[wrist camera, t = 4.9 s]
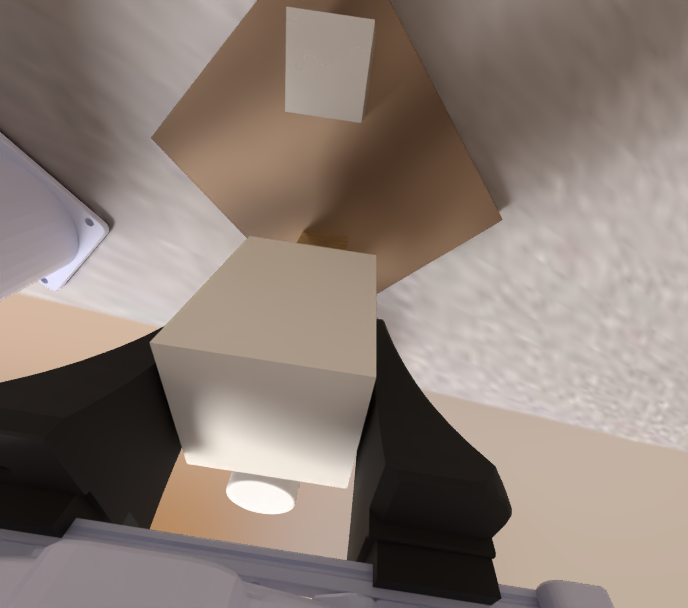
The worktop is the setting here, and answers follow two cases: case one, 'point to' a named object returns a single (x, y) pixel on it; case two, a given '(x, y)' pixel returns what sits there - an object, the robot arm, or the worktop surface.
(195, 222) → the worktop surface
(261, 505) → the supplement bottle
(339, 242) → the post
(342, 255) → the cream rectangular block
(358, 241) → the board
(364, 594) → the robot arm
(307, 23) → the post
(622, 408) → the worktop surface
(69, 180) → the worktop surface
